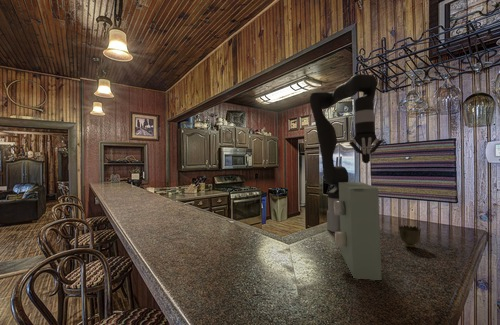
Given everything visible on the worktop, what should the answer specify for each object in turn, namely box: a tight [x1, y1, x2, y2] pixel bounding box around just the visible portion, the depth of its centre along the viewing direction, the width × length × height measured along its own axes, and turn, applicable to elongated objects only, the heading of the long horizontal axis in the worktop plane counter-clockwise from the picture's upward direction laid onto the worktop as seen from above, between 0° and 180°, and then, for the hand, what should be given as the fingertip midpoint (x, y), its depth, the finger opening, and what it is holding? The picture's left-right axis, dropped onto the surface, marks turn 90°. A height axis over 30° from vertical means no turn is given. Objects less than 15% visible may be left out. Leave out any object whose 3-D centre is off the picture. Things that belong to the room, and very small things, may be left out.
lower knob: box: [334, 232, 347, 248], centre depth 81 cm, size 7×5×5 cm
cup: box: [398, 225, 422, 249], centre depth 95 cm, size 8×7×8 cm
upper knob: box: [334, 201, 345, 215], centre depth 81 cm, size 7×5×5 cm
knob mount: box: [339, 181, 382, 281], centre depth 80 cm, size 8×20×28 cm, turn 168°
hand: (366, 163), depth 98 cm, fingers closed
